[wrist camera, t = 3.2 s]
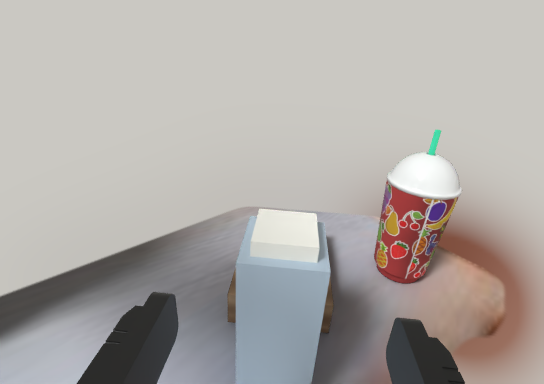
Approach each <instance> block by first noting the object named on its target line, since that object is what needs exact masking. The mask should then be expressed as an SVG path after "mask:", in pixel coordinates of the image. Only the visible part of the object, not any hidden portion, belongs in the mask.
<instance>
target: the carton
mask: <svg viewBox="0 0 544 384" xmlns="http://www.w3.org/2000/svg"><path fill="white" fill-rule="evenodd" d="M330 274H331V271H330V263H329V256H328V248H327V240H326V233H325V225H324V223H321V222H317V215H316V214H313V213H302V212H291V211H280V210H269V209H259V212H258V215H257V217H255V216H250V219H249V222H248V225H247V228H246V232H245V235H244V238H243V241H242V245H241V248H240V251H239V254H238V258H237V261H236V384H311V383H312V377H313V371H314V365H315V360H316V354H317V348H318V342H319V337H320V331H321V325H322V319H323V314H324V308H325V302H326V297H327V291H328V285H329V279H330Z"/></svg>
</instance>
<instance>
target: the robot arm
mask: <svg viewBox="0 0 544 384" xmlns="http://www.w3.org/2000/svg"><path fill="white" fill-rule="evenodd" d="M177 332H178V316H177V308H176V299H175V295H174V294H168V293H158V292H153V293H152V294H151V295H150V296H149V298H148V299H147V301H146V302H145V304H144V306H135V307H133V308H132V309H131V310H130V311H128V312H127V313H126V314H125V315H123V316H122V318H121V319H120V321H119V322H118V324H117V325H116V327H115V328H114V329H113V332H111V334H110V335H109V337H108V338H107V340H106V343H105V344H103V346H102V347H101V349H100V350H99V352H98V353H97V355H96V356H95V357H94V359H93V360H92V362H91V363H90V365H89V366H88V368H87V369H86V371H85V372H84V374H83V375H82V377H81V378H80V380H79V381H78V383H77V384H157V381H158V379H159V377H160V374H161V372H162V370H163V368H164V365H165V363H166V361H167V358H168V356H169V354H170V352H171V349H172V347H173V345H174V342H175V340H176V337H177ZM386 360H387V366H388V369H389V373H390V377H391V380H392V384H465V382H464V380H463V378H462V376H461V374H460V372H458V368H457V366H456V364H455V362H454V360H453V358H452V356H451V353H450V352H449V351H448V350H447V349H446V348H445V346H444V345H443V344H442V343H441V342H440V341H439V340H438V339H437V338H432V337H428V335H427V332H426V330H425V328H424V326H423V324H422V322H421V321H420V320H416V319H406V318H396V319H395V321H394V324H393V328H392V331H391V334H390V338H389V341H388V344H387V349H386Z"/></svg>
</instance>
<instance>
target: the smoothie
mask: <svg viewBox="0 0 544 384" xmlns="http://www.w3.org/2000/svg"><path fill="white" fill-rule="evenodd" d="M440 133H441V131H440V130H435V132H434V136H433V139H432V143H431V146H430V149H429V152H420V153H415V154H412V155H409V156H407V157H405V158H404V159H402V160H401V161H400V162H399V163H398V164H397V165H396V166H395V168H394V169H393V170H392V171H390V172H389V173H388V174H387V182H386V188H385V194H384V200H383V206H382V212H381V218H380V224H379V230H378V236H377V242H376V248H375V254H374V259H375V261H376V263H377V268H378V270H379V271H380V272H381V273H382V274H383V275H384V276H385V277H387V278H388V279H391V280H393V281H395V282H400V283H412V282H415V281H416V280H418V278H420V277H422V276H423V275H424V274H425V272H426V270H427V267H428V265H429V263H430V261H431V258H432V256H433V254H434V252H435V249H436V247H437V245H438V243H439V240H440V238H441V236H442V233H443V231H444V229H445V227H446V225H447V222H448V220H449V218H450V216H451V213H452V211H453V209H454V207H455V204H456V202H457V199H458V197H459V196H460V194H461V192H462V188H461V187H460V185H459V178H458V174H457V172H456V170H455V168H454V167H453V165H452V164H451V163H450V162H449V161H448V160H447V159H445V158H444V157H442V156H440V155H438V154H436V153H435V150H436V147H437V143H438V140H439V137H440Z"/></svg>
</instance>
